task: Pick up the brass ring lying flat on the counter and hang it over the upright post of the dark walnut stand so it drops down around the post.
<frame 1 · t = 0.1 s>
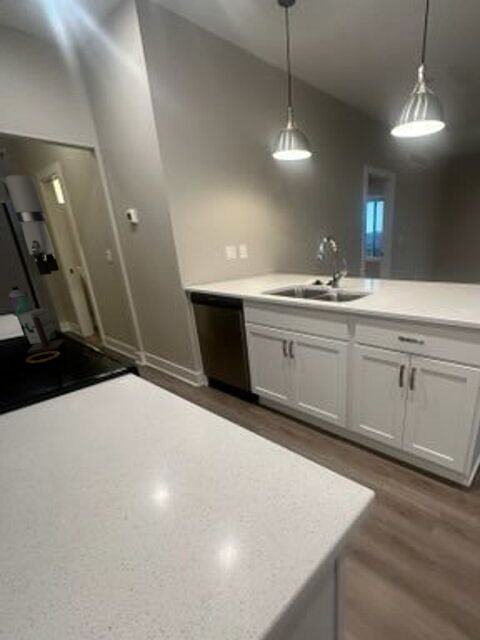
hand: (50, 272, 118), 26 cm above the counter, tool pointing down, fingers open, 9 cm apart
ink box: (44, 341, 133), on the counter
spray can: (32, 335, 142), on the counter
ring: (43, 357, 114), point 1 cm above the counter
post: (47, 348, 124), on the counter
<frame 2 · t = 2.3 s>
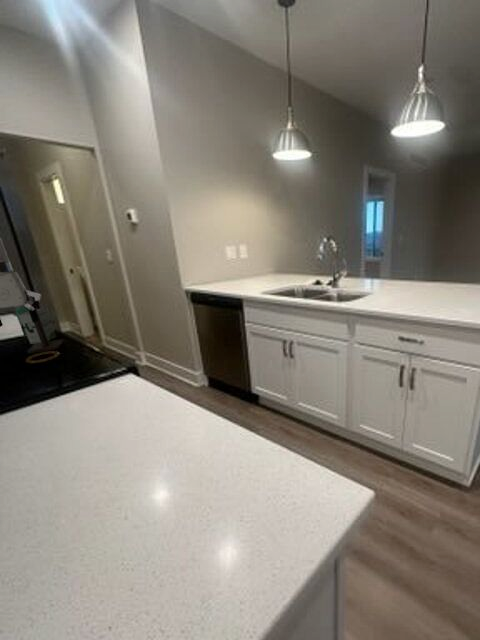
hand: (18, 324, 109), 12 cm above the counter, tool pointing down, fingers open, 9 cm apart
nothing on the counter moved.
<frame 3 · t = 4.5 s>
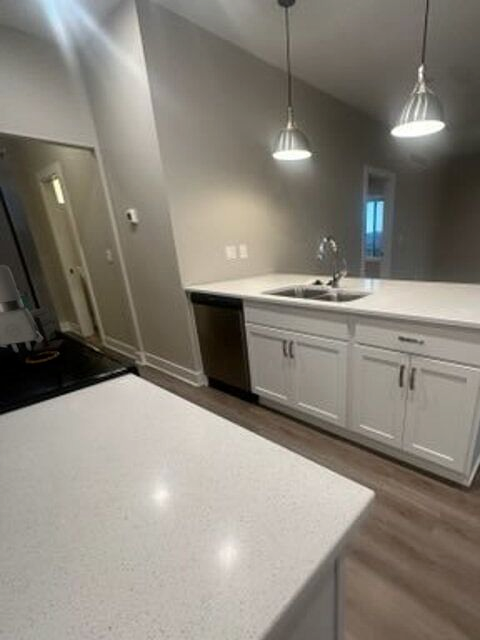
hand: (29, 360, 113), 0 cm above the counter, tool pointing down, fingers closed on ring, 1 cm apart
ring: (42, 357, 114), point 1 cm above the counter, touching gripper
everything else where it was.
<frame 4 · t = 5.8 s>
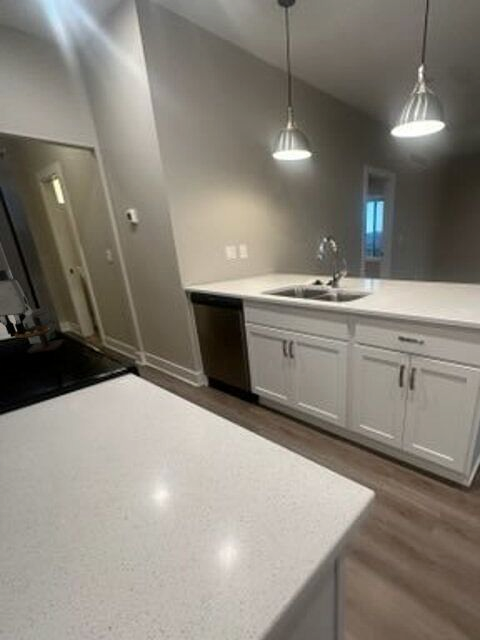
hand: (18, 334, 110), 9 cm above the counter, tool pointing down, fingers closed on ring, 1 cm apart
ring: (32, 331, 111), point 10 cm above the counter, touching gripper
everything else where it was.
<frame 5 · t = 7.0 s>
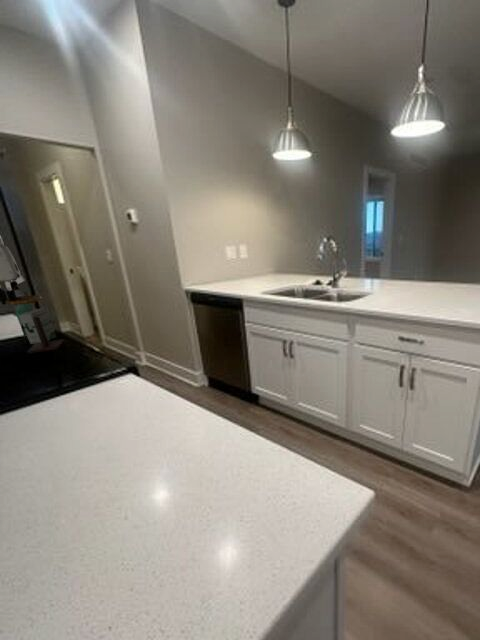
hand: (9, 302, 109), 19 cm above the counter, tool pointing down, fingers closed on ring, 1 cm apart
ring: (23, 300, 110), point 19 cm above the counter, touching gripper
everything else where it was.
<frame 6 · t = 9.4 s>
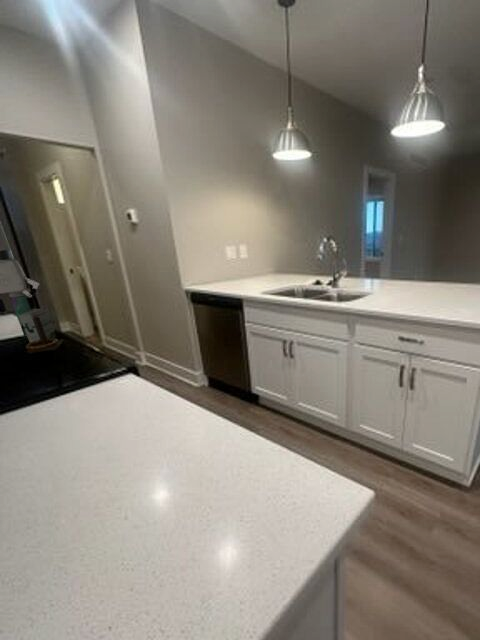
hand: (18, 309, 117), 15 cm above the counter, tool pointing down, fingers open, 8 cm apart
ring: (42, 343, 123), point 2 cm above the counter, touching post
everything else where it was.
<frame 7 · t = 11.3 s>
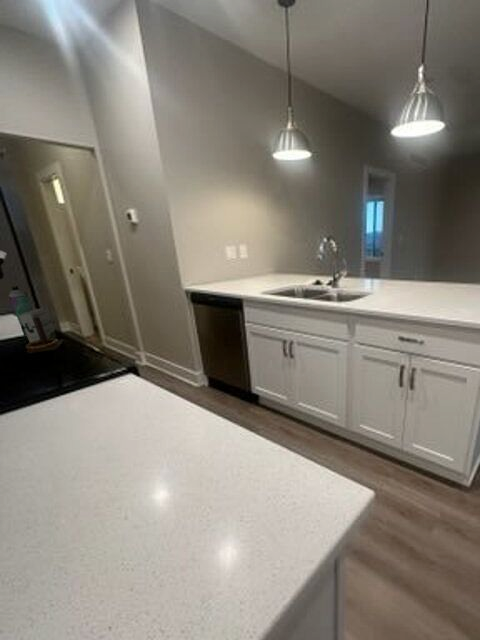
nothing on the counter moved.
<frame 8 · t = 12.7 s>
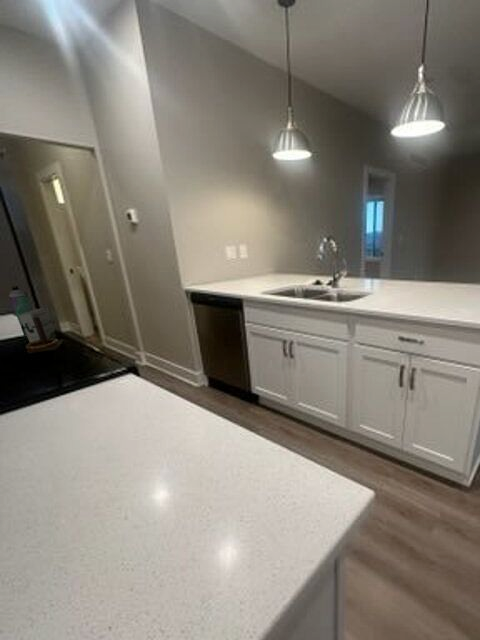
nothing on the counter moved.
at the end: ring 1.0 cm from the post (horizontally); ring point 2.1 cm above the counter; the gripper is holding nothing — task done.
